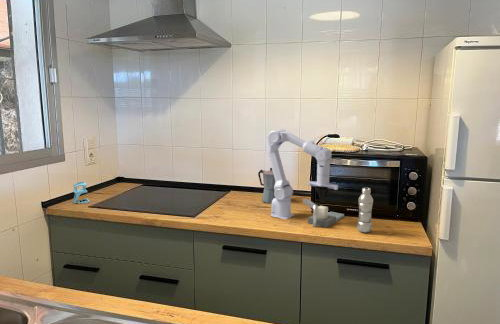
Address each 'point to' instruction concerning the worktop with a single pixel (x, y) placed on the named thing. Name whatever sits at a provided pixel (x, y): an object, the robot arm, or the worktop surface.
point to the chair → (79, 192)
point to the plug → (322, 212)
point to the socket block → (323, 221)
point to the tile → (338, 215)
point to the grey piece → (315, 210)
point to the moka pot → (268, 185)
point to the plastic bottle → (365, 210)
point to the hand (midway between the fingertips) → (322, 202)
